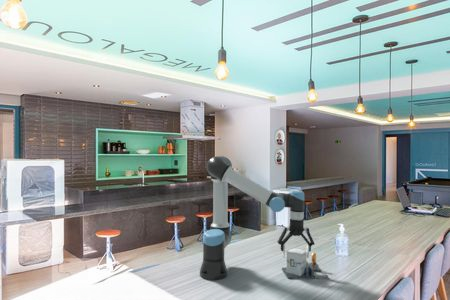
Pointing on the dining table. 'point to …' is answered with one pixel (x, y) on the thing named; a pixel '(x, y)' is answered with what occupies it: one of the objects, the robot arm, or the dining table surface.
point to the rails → (321, 275)
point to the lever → (314, 262)
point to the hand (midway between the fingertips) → (295, 257)
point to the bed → (307, 275)
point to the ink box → (296, 261)
